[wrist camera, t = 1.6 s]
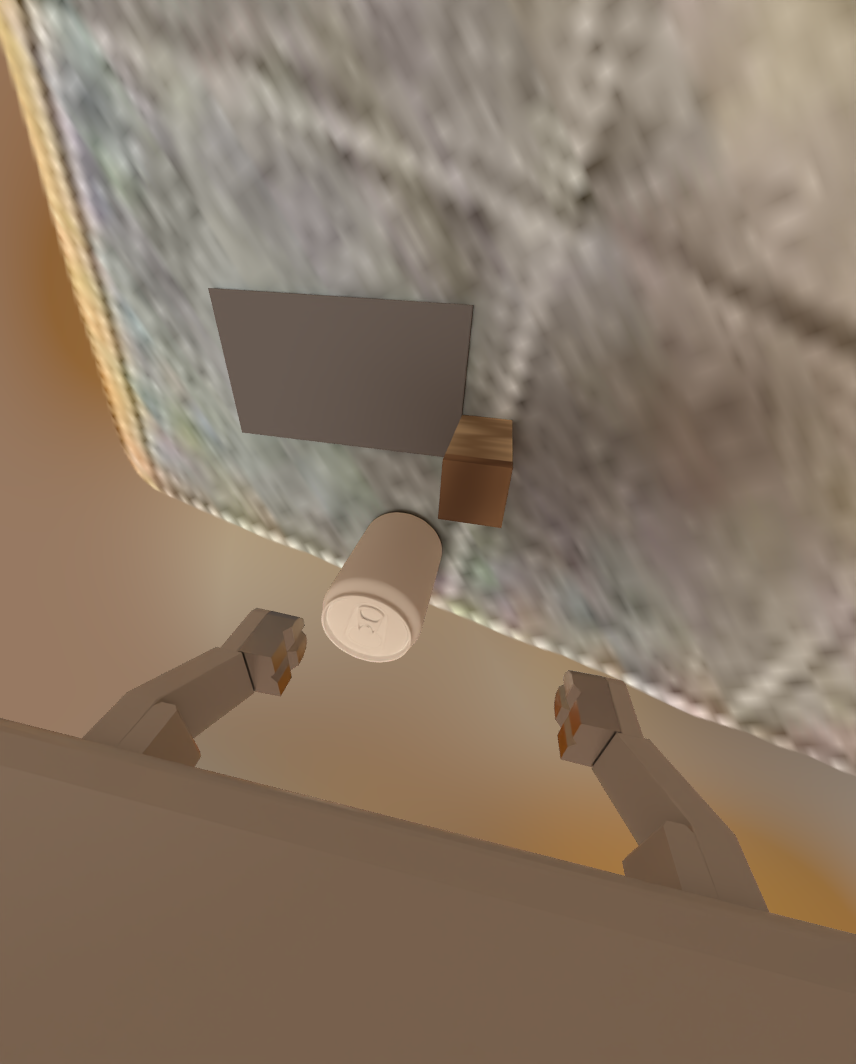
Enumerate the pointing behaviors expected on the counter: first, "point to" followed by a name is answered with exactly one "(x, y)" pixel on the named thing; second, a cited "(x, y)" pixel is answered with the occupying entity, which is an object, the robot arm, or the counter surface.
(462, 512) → the maple block
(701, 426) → the counter surface
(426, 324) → the rubber mat
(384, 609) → the beverage can
